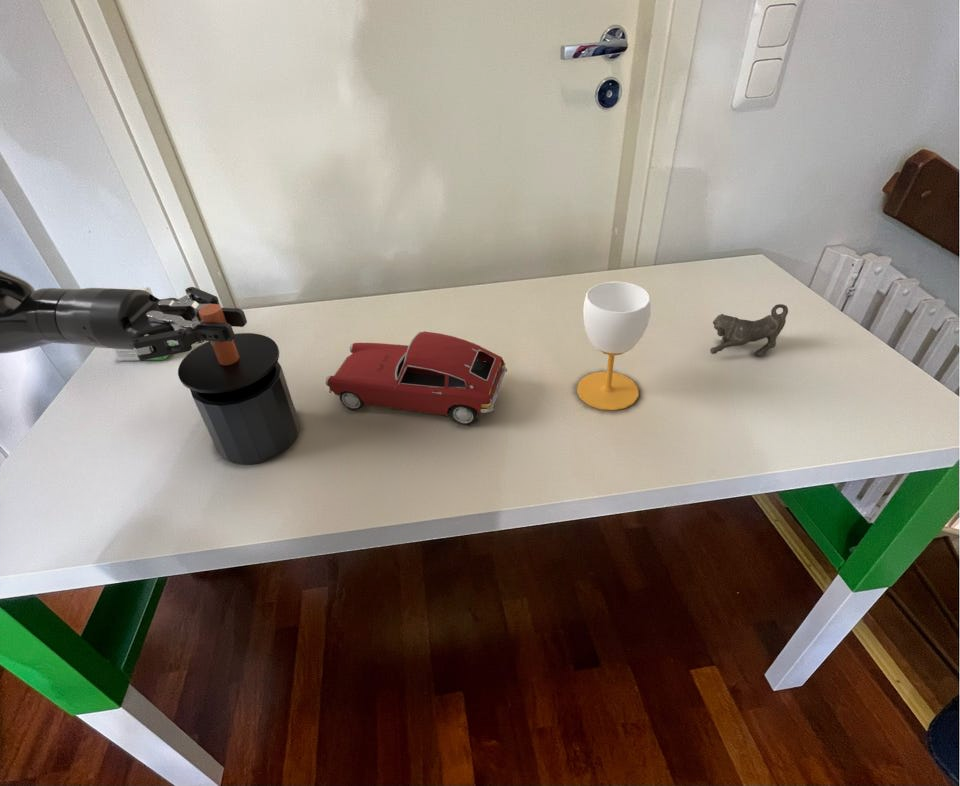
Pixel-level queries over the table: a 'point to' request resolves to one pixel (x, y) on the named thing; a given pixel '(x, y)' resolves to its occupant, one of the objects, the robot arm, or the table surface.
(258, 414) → the canister
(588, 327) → the cup
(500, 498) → the table surface
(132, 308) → the robot arm
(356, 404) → the toy car
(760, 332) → the dog figurine
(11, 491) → the table surface
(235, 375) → the lid
